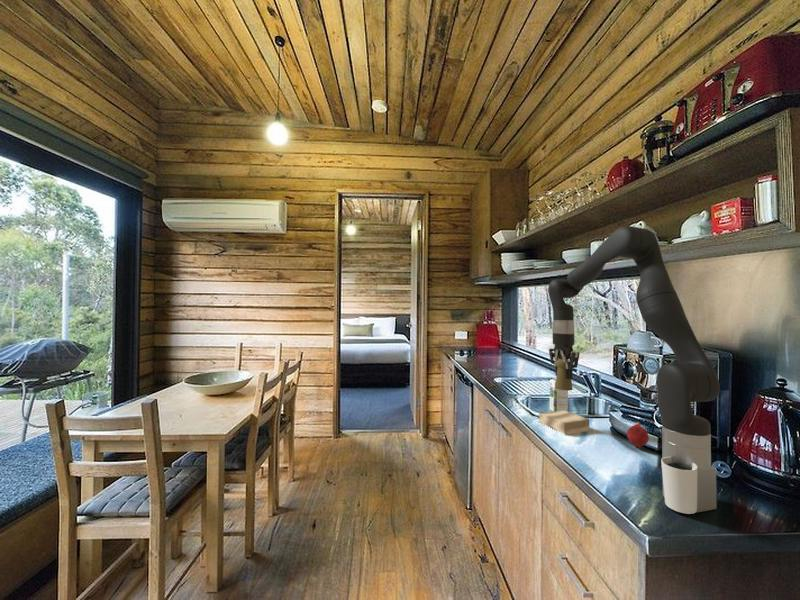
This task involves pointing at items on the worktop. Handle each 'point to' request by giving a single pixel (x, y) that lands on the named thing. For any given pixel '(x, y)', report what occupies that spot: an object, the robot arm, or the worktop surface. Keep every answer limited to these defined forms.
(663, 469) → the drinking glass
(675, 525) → the worktop surface
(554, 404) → the syrup box
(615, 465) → the worktop surface
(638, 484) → the worktop surface
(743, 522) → the worktop surface
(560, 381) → the cork
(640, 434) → the onion
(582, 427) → the birch block
